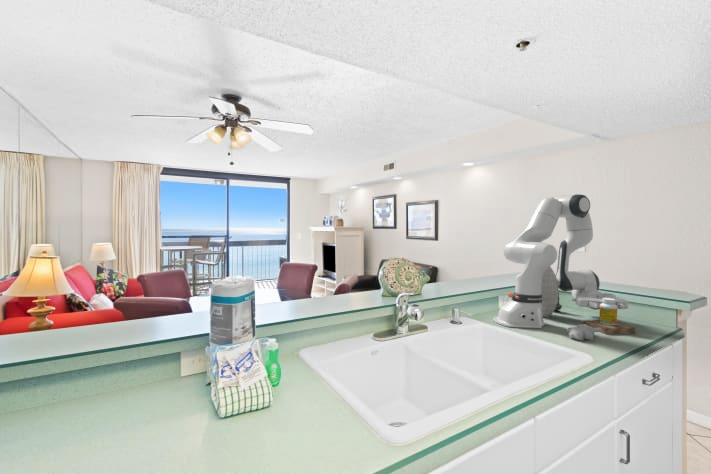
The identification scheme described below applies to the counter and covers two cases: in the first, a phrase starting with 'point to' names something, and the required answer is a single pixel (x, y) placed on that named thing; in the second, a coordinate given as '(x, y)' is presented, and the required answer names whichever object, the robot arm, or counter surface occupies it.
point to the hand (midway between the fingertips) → (610, 306)
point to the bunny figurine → (582, 332)
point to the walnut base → (610, 327)
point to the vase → (549, 292)
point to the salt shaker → (558, 306)
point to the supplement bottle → (608, 312)
